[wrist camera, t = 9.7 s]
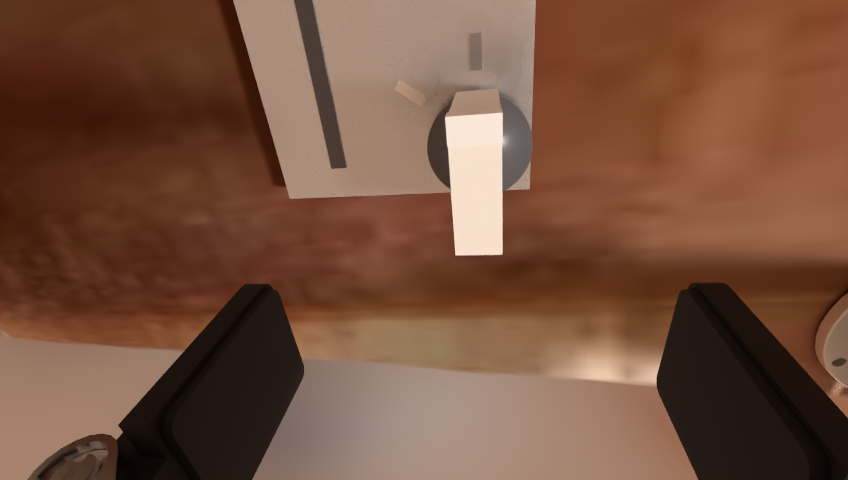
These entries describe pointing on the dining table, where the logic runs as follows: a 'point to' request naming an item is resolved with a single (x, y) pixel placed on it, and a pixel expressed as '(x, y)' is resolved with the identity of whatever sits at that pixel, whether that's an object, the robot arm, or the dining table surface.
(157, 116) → the dining table surface
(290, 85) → the console
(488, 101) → the dial
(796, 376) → the robot arm
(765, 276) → the dining table surface
